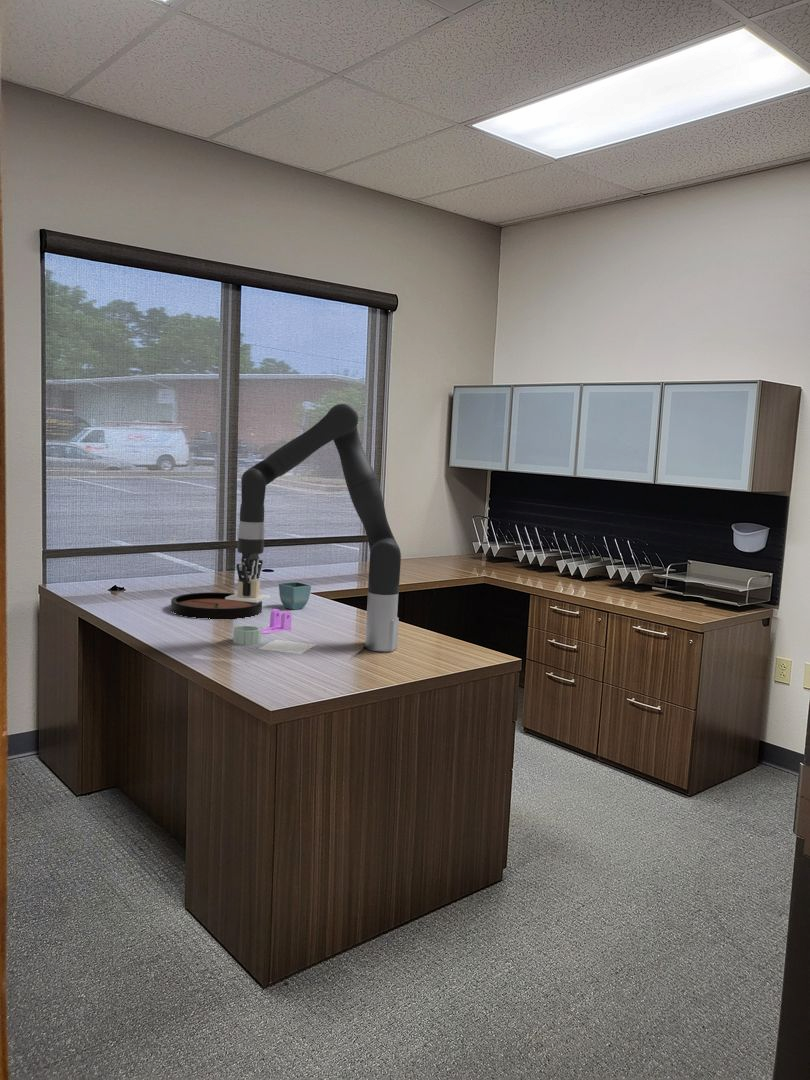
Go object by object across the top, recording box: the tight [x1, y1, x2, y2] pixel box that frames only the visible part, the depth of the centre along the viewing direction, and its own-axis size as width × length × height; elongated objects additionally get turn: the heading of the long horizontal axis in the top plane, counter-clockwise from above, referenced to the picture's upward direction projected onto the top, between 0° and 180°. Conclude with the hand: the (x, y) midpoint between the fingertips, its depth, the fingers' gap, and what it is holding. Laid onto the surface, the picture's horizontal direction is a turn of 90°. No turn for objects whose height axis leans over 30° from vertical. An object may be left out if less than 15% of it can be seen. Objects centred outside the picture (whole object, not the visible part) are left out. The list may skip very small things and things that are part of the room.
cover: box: [225, 578, 272, 603], centre depth 250 cm, size 10×10×6 cm
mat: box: [257, 639, 317, 655], centre depth 249 cm, size 13×13×1 cm
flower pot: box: [278, 581, 312, 610], centre depth 312 cm, size 9×9×9 cm
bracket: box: [261, 608, 292, 635], centre depth 269 cm, size 13×6×7 cm, turn 152°
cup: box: [232, 625, 262, 646], centre depth 252 cm, size 8×8×5 cm
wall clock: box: [170, 591, 263, 620], centre depth 300 cm, size 31×4×31 cm
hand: (248, 594), depth 250 cm, fingers closed on cover, 2 cm apart
